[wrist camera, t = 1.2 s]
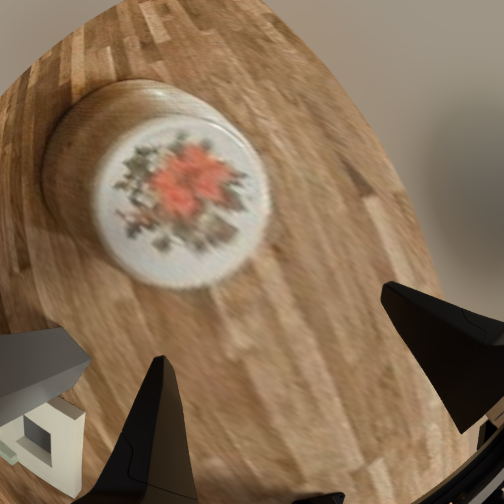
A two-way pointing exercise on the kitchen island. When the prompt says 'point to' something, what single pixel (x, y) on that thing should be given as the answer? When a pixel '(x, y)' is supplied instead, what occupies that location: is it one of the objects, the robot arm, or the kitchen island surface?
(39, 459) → the socket box
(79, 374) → the plug
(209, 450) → the kitchen island surface
